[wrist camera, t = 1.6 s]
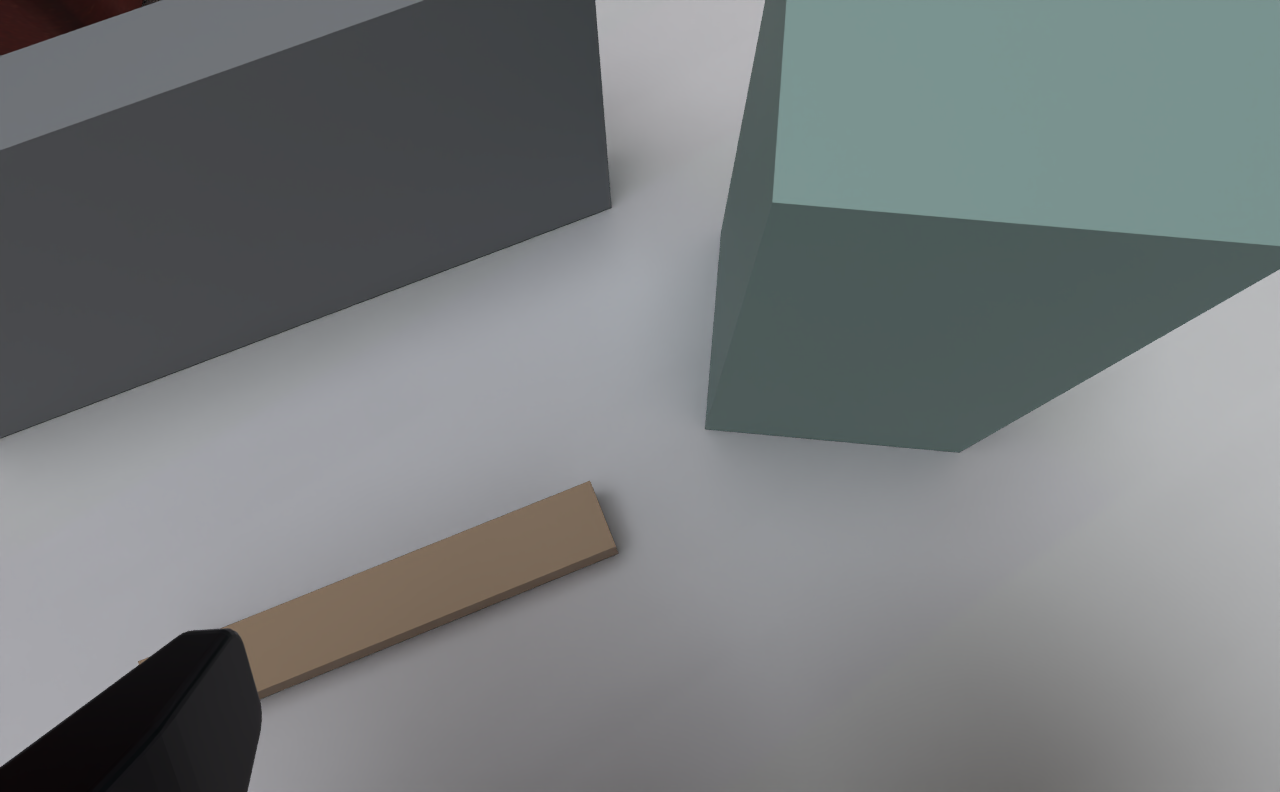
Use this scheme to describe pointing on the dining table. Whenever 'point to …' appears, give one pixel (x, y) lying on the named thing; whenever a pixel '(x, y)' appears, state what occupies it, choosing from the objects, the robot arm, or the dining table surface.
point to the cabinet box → (983, 205)
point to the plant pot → (52, 18)
